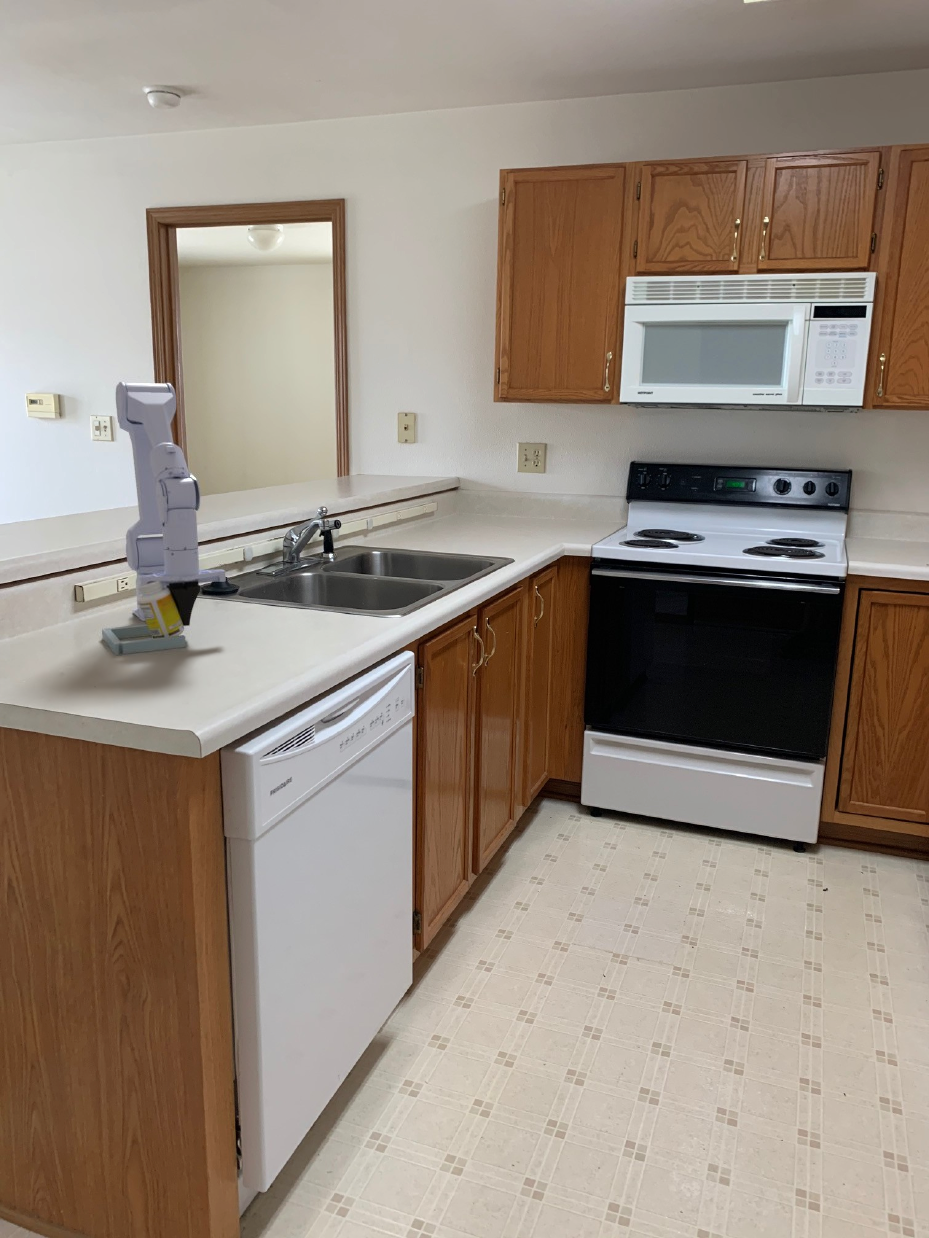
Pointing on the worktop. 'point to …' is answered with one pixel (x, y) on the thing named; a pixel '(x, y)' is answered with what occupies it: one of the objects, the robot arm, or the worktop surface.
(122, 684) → the worktop surface
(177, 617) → the supplement bottle
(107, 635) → the tray
